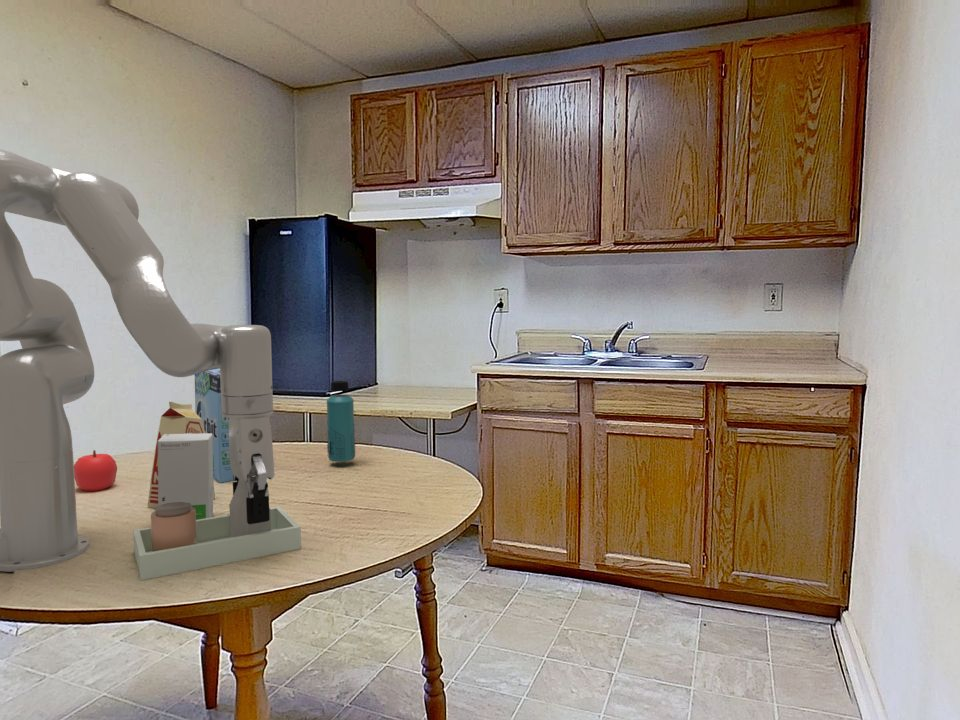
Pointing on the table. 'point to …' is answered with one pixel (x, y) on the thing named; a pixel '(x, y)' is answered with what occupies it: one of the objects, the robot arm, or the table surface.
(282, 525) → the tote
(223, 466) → the gum box
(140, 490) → the table surface
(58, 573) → the table surface
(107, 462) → the apple
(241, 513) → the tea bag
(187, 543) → the jar
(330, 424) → the beverage bottle
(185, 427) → the milk carton
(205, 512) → the skincare box
